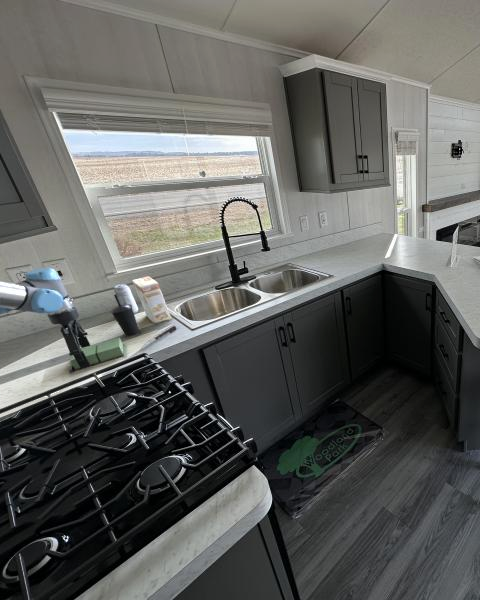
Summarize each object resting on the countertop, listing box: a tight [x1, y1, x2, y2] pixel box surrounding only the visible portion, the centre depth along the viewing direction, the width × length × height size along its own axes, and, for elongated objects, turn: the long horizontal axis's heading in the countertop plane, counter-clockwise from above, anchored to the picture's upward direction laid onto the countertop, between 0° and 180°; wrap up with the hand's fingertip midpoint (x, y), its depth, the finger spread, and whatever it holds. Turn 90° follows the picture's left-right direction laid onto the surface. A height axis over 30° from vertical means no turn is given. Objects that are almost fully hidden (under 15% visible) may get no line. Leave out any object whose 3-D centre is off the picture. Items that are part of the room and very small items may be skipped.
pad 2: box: [97, 337, 124, 362], centre depth 131 cm, size 7×9×4 cm
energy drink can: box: [113, 283, 139, 314], centre depth 164 cm, size 6×6×15 cm
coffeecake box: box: [131, 275, 172, 324], centre depth 157 cm, size 15×7×20 cm, turn 49°
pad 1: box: [70, 343, 100, 369], centre depth 127 cm, size 7×9×4 cm
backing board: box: [68, 343, 125, 374], centre depth 129 cm, size 16×12×2 cm
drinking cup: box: [109, 294, 140, 337], centre depth 142 cm, size 8×8×20 cm
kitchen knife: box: [141, 325, 177, 349], centre depth 142 cm, size 18×1×2 cm, turn 169°
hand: (87, 358), depth 127 cm, fingers open, 13 cm apart
